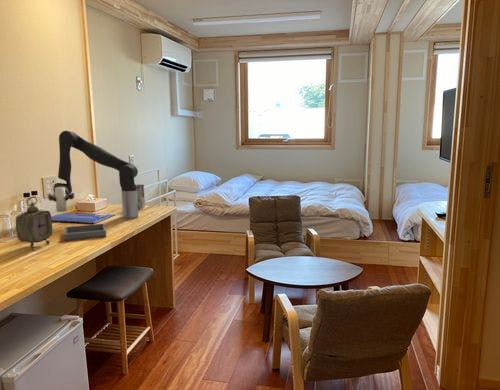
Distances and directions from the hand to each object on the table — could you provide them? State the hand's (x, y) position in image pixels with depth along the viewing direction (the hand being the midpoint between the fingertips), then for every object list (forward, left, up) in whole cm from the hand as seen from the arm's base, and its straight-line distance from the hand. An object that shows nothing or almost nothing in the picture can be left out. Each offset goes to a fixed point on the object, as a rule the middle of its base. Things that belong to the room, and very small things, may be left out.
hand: (60, 199), depth 224 cm
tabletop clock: (+11, +26, -18) cm, 34 cm away
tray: (-12, +13, -18) cm, 25 cm away
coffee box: (-47, -41, -18) cm, 65 cm away
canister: (0, -3, -7) cm, 7 cm away
